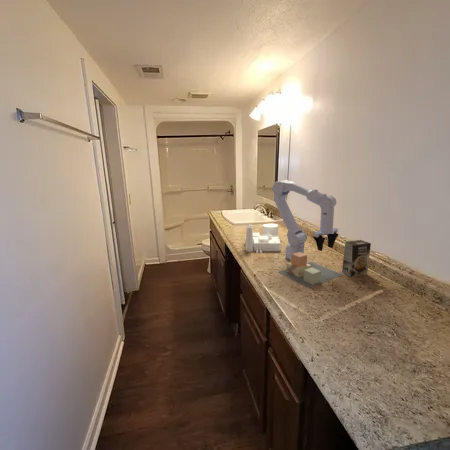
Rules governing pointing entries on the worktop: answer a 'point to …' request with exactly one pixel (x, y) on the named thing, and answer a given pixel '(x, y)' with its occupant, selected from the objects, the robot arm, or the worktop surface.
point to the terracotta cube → (299, 259)
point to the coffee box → (356, 258)
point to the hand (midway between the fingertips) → (325, 248)
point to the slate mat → (325, 272)
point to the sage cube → (312, 275)
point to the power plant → (263, 239)
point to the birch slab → (296, 269)
